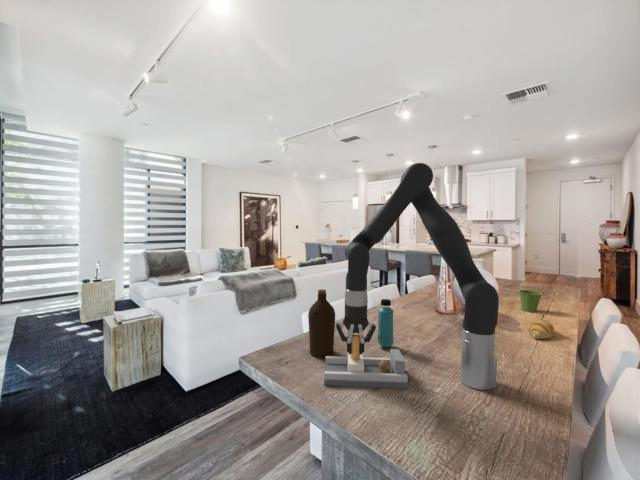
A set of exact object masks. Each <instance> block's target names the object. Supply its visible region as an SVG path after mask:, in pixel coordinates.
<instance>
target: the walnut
mask: <svg viewBox="0 0 640 480" xmlns="http://www.w3.org/2000/svg"><path fill="white" fill-rule="evenodd" d="M379 369H380V370H381V371H382V372H384V373H387V372H389V371H390V369H391V364H390V362H389V361H387V360H382V361H380V363H379Z"/></svg>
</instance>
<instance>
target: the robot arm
mask: <svg viewBox="0 0 640 480" xmlns="http://www.w3.org/2000/svg"><path fill="white" fill-rule="evenodd" d="M433 180H434V173H433V170H432V168H431V166H429V165H428V164H426V163H423V162H417V163H413V164H411V165H410V166H408V168H406V170H405V171H404V172H403V174H402V175H401V178H400V183H399V184H398V186H397V187H396V188H395V190H394V191H393V193H392V194H391V195H390V197H389V198H388V199H387V200H386V201H385V202H384V203H383V205H382V206H380V207H379V209H378V210H377V211H376V212H375V213H374V214H373V215H372V217H371V218H370V219H369V220H368V221H367V223H366V225H364V227H363V229H362V230H360V231H359V233H357V235H355V237H354V238H352V240H351V241H350V242H349V243H348V244H347V246H346V247H345V251H344V257H345V258H346V260H347V263H348V264H347V273H346V275H345V293H344V318H343V319H342V321H340V322H335V329H336V330H337V332H338V335H339V337H340V339H341V341H342V342H345V343H346V352H347V353H349V354H351V338H352V334H354V333H356V334H360V354H362V355H363V353H365V344H366V343H370V342H371V340H372V337H373V336H374V333H375V330H377V329H376V328H377V326H376V324H375V323H373V322H369V319H368V304H369V303H368V301H369V300H368V299H369V298H368V271H369V265H370V250H371V249H372V248H373V247H374V246H375V245H376V244H379V243H380V242H381V241H382V240H383V239H384V237H385V236H386V234H388V232H389V231H390V230H391V229H392V228H393V226H394V225H395V223H396V222H397V220H398V219H399V218H400V217H401V215H402V214H403V213H404V211H406V209H407V207H408V206H409V205H410V204H412V206H413V207H414V209H415V211H416V212H417V214H418V216H419V218H420V219H421V221H422V224H423V226H424V227H425V230H426V231H427V233H428V235H429V238H430V240H431V242H432V244H433V245H434V247H435V249H436V250H437V252H438V253H439V255H440V256H441V258H442V260H443V261H444V262H445V263H446V265H447V266H448V267H449V269H450V270H451V272H452V273H453V276H454V278H455V280H456V282H457V284H458V287H459V289H460V292H461V295H462V297H463V299H464V314H463V319H462V325H461V326H462V328H461V332H462V333H461V361H460V363H461V364H460V381H461V383H463V385H465V386H467V387H469V388H473V389H475V390H479V391H480V390H481V391H488V390H489V391H490V390H491V389H496V388H497V375H498V374H497V372H498V371H497V369H498V357H497V356H495V346H496V345H495V341H496V327H497V325H498V320H499V317H498V316H499V307H500V306H499V304H500V302H499V301H500V300H499V293H498V291H497V289H496V288H495V287H494V286H493V285H491V283H489V281H487V280H486V279H485V277H484V276H483V274H482V273H481V271H479V268H478V267H477V265H476V263H475V261H474V260H473V257H472V254H471V250H470V247H469V245H468V242H467V240H466V238H465V236H464V234H463V232H462V230H461V228H460V226H459V225H458V223H457V222H456V220H455V219H454V218H453V217H452V215H450V214H449V212H448V211H446V209H444V208H443V207H442V206H441V205H440V203H438V201H437V199H436V198H435V196H434V194H433V192H432V190H431V189H430V186H431V185H432V183H433V182H434V181H433ZM344 327H345V328H346V330H347V336H346V335H345V333H344V331H343V329H344ZM367 327H368V332H367V334H366V335H365V336H364V331H366V328H367Z"/></svg>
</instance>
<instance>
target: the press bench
mask: <svg viewBox="0 0 640 480" xmlns="http://www.w3.org/2000/svg"><path fill="white" fill-rule="evenodd" d="M362 357H363V362H364V372H348V366H347V356H341V355H340V356H339V355H337V356H335V355H331V356H326V357H325V364H324V365H325V367H324V371H323V373H324V374H323V377H324V378H323V382H324V383H323V386H328V387H329V386H330V387H331V386H333V387H354V388H355V387H356V388H358V387H359V388H360V387H361V388H381V389H382V388H383V389H384V388H385V389H408V388H409V383H408V377H409V376H408V374H407V373H405V372H406V371H405V370H406V367H405V366H406V361H405V358H404V356H403V355H402V353H401V351H400V349H398V348H397V349H395V348H390V351H389V357H372V356H371V357H370V356H368V357H367V356H366V357H365V356H362ZM382 360H387V361H389V362H390V364H391V369H390V371H389V372H387V373H384V372H382V371H381V370H380V369H379V363H380V361H382Z"/></svg>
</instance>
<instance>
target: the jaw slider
mask: <svg viewBox="0 0 640 480" xmlns="http://www.w3.org/2000/svg"><path fill="white" fill-rule="evenodd" d="M346 357H347V366H348V372H364V362H363V357H364V356H363V353H362V354H360V334H358V333H353V334H352V338H351V354H349V352H347V356H346Z"/></svg>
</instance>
